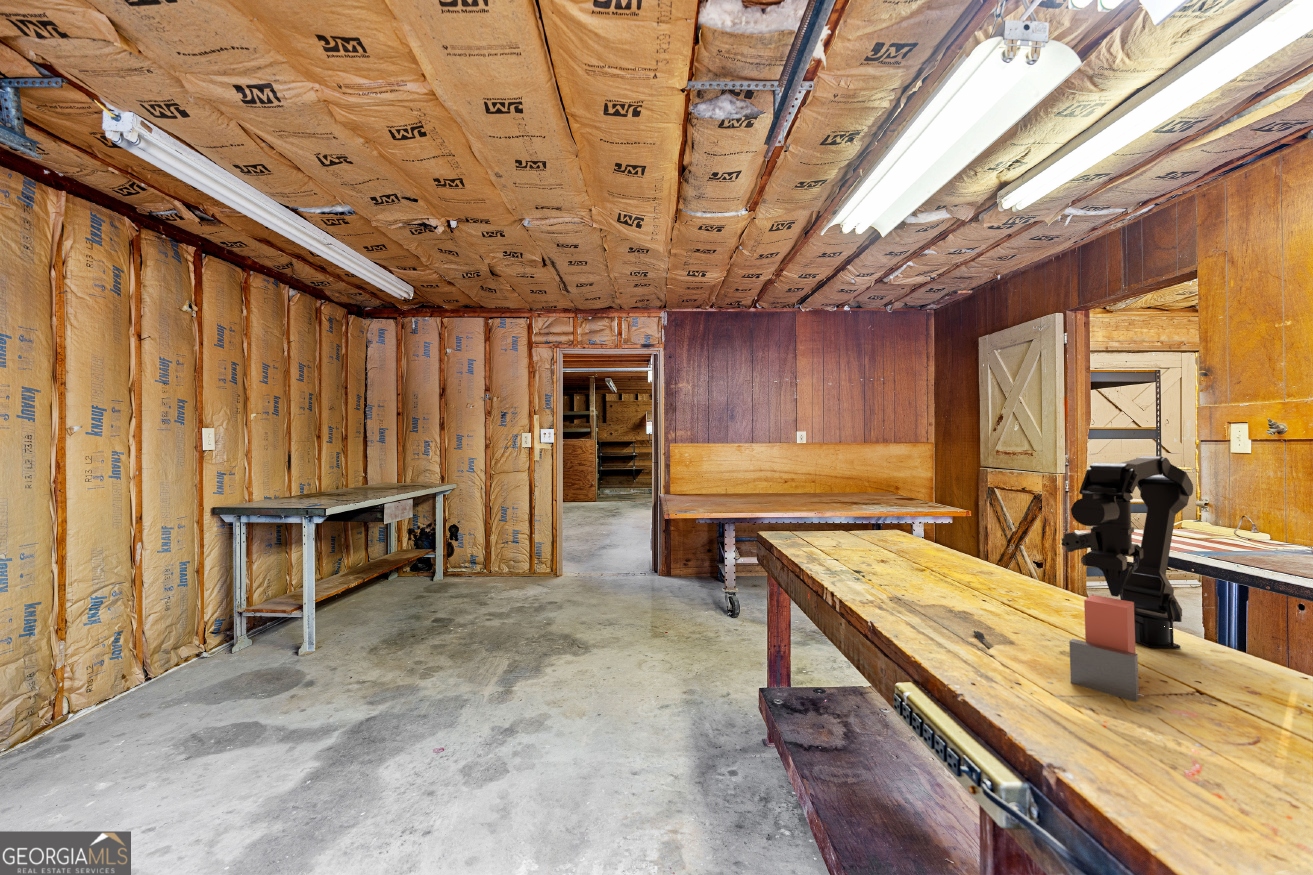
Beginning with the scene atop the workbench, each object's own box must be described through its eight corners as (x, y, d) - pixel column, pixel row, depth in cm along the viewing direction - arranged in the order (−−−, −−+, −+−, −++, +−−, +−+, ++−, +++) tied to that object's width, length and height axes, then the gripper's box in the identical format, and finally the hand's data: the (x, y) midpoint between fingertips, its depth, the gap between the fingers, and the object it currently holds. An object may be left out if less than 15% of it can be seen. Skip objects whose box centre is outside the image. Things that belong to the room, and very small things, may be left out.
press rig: (1090, 667, 103) (1089, 622, 103) (1158, 685, 95) (1157, 637, 95) (1067, 688, 95) (1065, 640, 95) (1140, 710, 87) (1138, 658, 87)
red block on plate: (1094, 672, 98) (1092, 594, 98) (1136, 683, 93) (1133, 601, 94) (1086, 679, 95) (1084, 599, 96) (1129, 692, 91) (1126, 607, 91)
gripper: (1078, 514, 120) (1080, 580, 119) (1051, 522, 109) (1053, 595, 108) (1142, 519, 111) (1145, 590, 111) (1120, 528, 100) (1123, 608, 99)
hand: (1115, 595), depth 107 cm, fingers closed
